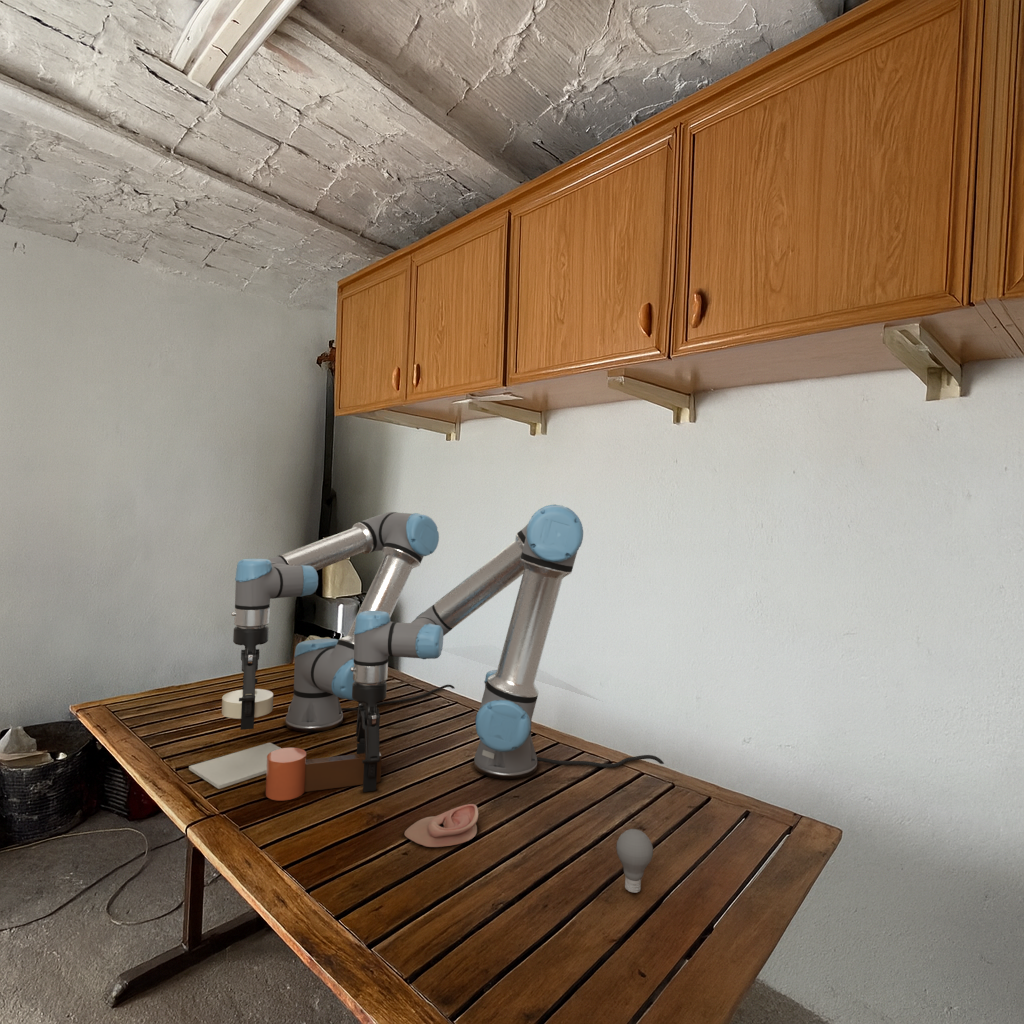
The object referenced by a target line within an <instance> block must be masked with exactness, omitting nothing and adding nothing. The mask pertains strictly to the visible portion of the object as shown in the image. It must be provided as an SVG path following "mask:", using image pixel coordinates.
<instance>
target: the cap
mask: <svg viewBox="0 0 1024 1024" xmlns="http://www.w3.org/2000/svg"><path fill="white" fill-rule="evenodd" d="M246 695H252V694H246ZM242 697H243V690H242V689H237V690H232V691H230V692H229V691H228V692H227V693H225V694H223V696H222V697H221V715H222V716H223V717H225V718H229V719H237V720H241V709H242V701H239V698H242ZM273 710H274V692H272V691H271V690H268V689H262V688H255V710H254V719H255V718H259V717H264V716H266V715H268V714H270V713H271V712H272V711H273Z"/></svg>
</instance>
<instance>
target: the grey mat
mask: <svg viewBox="0 0 1024 1024" xmlns="http://www.w3.org/2000/svg"><path fill="white" fill-rule="evenodd" d="M282 748H283V747H282ZM282 748H281V747H280V746H278V745H276V744H274V743H272V742H267V743H263V744H260V745H257V746H253V747H249V748H247V749H243V750H239V751H235V752H232V753H229V754H226V755H223V756H219V757H216V758H212V759H209V760H204V761H202V762H198V763H196V764H191V765H189V766H188V770H189V771H190V772H191V773H193V774H194V775H197V776H198V777H199V778H201V779H202V780H204V781H205V782H208V783H209V784H210V785H212V786H213V787H214V788H216V789H218V790H221V789H224V788H226V787H230V786H232V785H236V784H238V783H239V784H240V783H242V782H245V781H248V780H251V779H254V778H257V777H259V776H264V775H266V768H267V755H268V754H269V753H270V752H272V751H274V750H278V749H282Z"/></svg>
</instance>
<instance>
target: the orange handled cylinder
mask: <svg viewBox="0 0 1024 1024" xmlns="http://www.w3.org/2000/svg"><path fill="white" fill-rule="evenodd" d="M307 754H308V753H307V751H306V749H302V748H299V747H282V749H278V750H274V751H272V752H270V753H269V754H268V755H267V768H266V774H265V797H266V798H268V799H269V800H272V801H277V802H281V801H282V802H283V801H290V800H294V799H297V798H299V797H301V796H302V795H303V794H305V793H306V792H307V793H308V792H315V791H316V792H317V791H322V790H330V789H331V790H332V789H339V788H346V787H354V786H361V785H362V786H363V777H364V763H362V760H365V753H362V754H357V753H355V754H354V753H353V754H346V755H335V756H326V757H319V758H317V757H316V758H309V759H307V756H308V755H307ZM381 778H382V753H380V761H379V762H377V781H376V784H377V783H381V781H382V780H381Z"/></svg>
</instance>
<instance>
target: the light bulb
mask: <svg viewBox="0 0 1024 1024" xmlns="http://www.w3.org/2000/svg"><path fill="white" fill-rule="evenodd" d="M615 849H616V854H617V857H618V859H619V861H620V863H621V865H622V867H623V873H624V874H623V875H624V876H625V878H624V888H625V890H627V891H628V892H630V893H634V894H635V893H639V892H640V891H641V889H642V887H641V886H642V879H643V877H644V875H645V871H646V868H647V867H648V866H649V864H650V863H651V861H652V859H653V855H654V847H653V843H652V841H651V838H649V836H648V835H647V834H646V833H645V832H643V831H642V830H641V829H636V828H629V829H627V830H625V831H623V832H622V833H621V834H620V835H619V837H618V839H617V841H616V847H615Z"/></svg>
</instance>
